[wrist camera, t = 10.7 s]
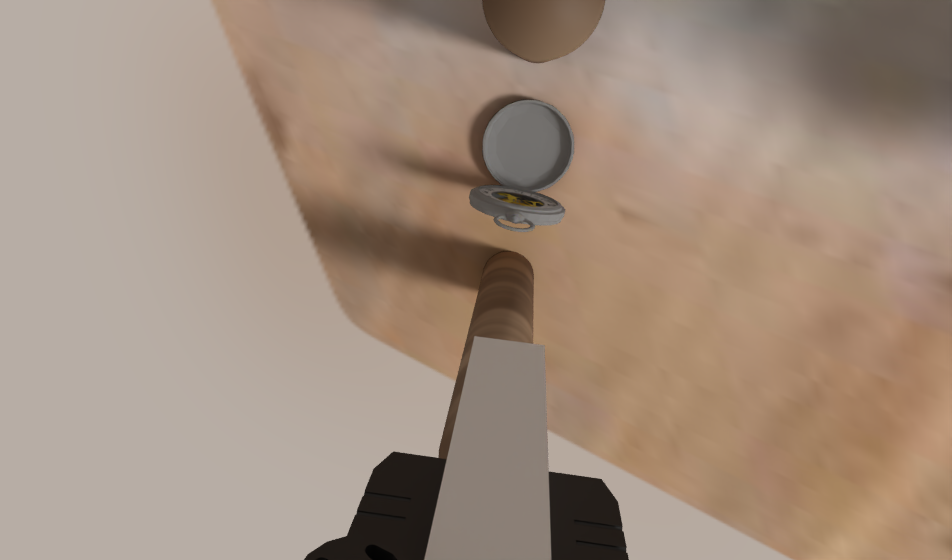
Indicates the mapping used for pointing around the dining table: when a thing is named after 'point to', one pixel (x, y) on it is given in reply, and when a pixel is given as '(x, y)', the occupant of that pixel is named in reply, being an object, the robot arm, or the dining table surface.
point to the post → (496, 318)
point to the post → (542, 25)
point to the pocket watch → (524, 164)
